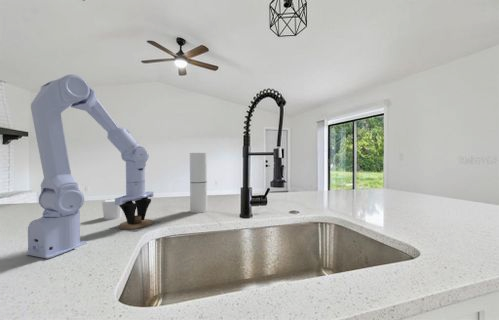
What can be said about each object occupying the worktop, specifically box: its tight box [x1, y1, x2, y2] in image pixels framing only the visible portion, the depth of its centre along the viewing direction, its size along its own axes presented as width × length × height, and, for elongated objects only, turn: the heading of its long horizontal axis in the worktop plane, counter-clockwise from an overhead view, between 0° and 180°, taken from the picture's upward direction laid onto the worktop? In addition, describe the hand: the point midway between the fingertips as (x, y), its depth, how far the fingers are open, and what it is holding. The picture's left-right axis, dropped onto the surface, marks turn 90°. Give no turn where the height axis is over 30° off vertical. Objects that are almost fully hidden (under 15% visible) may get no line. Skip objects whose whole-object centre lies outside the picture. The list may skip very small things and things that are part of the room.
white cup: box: [101, 198, 123, 221], centre depth 84 cm, size 7×7×7 cm
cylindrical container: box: [189, 152, 208, 214], centre depth 94 cm, size 7×7×25 cm
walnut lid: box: [118, 214, 153, 231], centre depth 74 cm, size 10×10×3 cm
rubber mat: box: [109, 220, 161, 233], centre depth 74 cm, size 11×11×1 cm
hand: (136, 221), depth 74 cm, fingers open, 4 cm apart
